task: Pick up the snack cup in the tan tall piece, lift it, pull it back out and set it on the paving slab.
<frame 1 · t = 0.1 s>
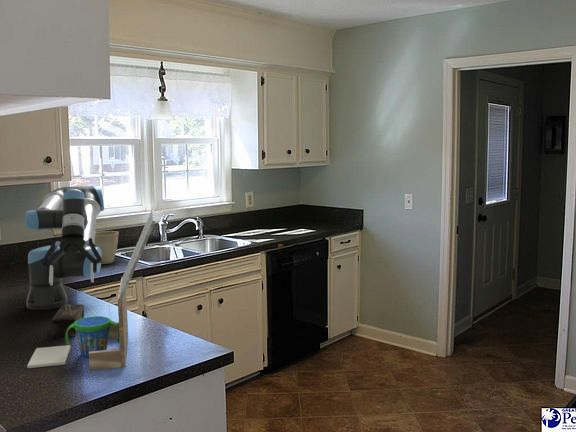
hand: (71, 282, 195), 15 cm above the worktop, tool tilted 35°, fingers open, 13 cm apart
tan tall piece: (95, 353, 171), on the worktop
snack cup: (94, 353, 171), on the worktop
paving slab: (50, 357, 168), on the worktop
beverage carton: (68, 329, 194), on the worktop
plant pot: (105, 262, 300), on the worktop
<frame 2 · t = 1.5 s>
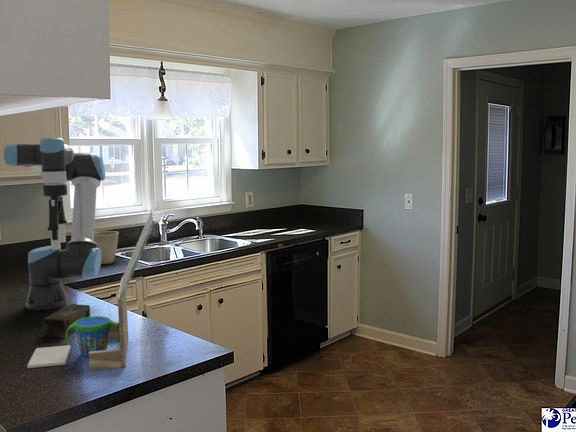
hand: (59, 245, 192), 29 cm above the worktop, tool pointing down, fingers open, 13 cm apart
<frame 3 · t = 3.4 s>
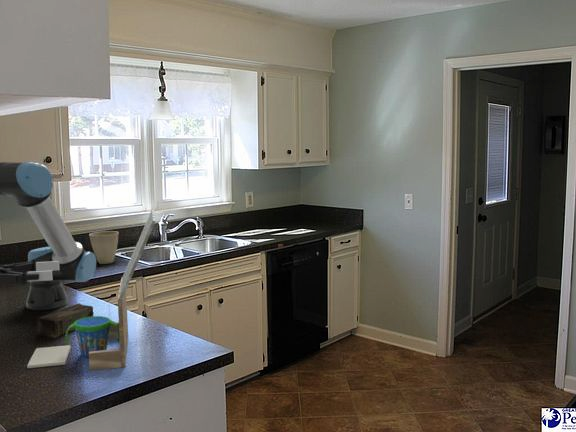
hand: (55, 270, 165), 26 cm above the worktop, tool horizontal, fingers open, 13 cm apart
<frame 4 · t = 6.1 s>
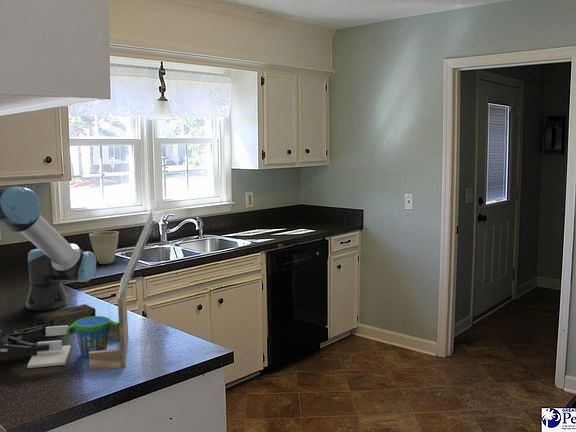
hand: (65, 337, 168), 6 cm above the worktop, tool horizontal, fingers open, 13 cm apart
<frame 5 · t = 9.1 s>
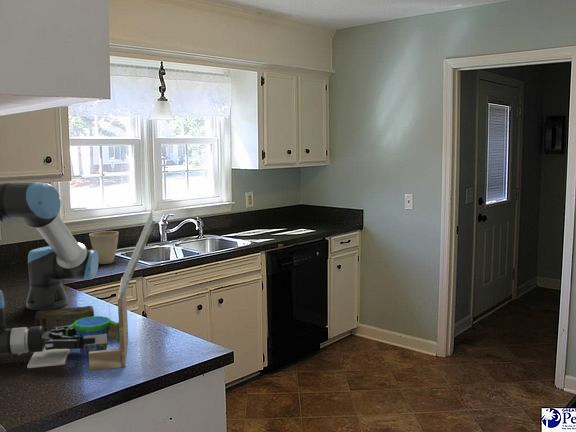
hand: (108, 332, 171), 6 cm above the worktop, tool horizontal, fingers closed on snack cup, 9 cm apart
snack cup: (93, 353, 171), on the worktop, touching gripper
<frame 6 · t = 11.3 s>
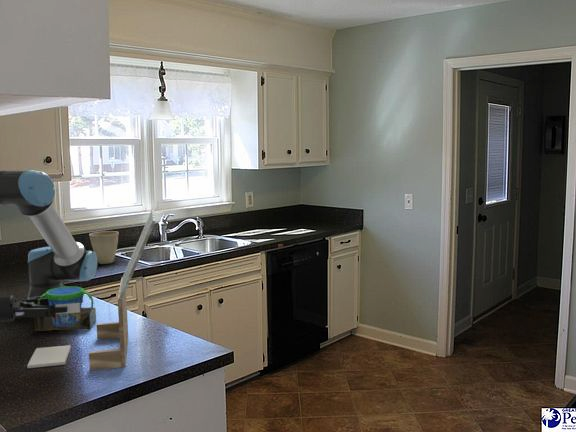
hand: (81, 302, 168), 16 cm above the worktop, tool horizontal, fingers closed on snack cup, 9 cm apart
snack cup: (66, 324, 168), point 10 cm above the worktop, touching gripper
when the fingers open (8 cm above the worktop, at t = 14.0 s): snack cup moves 3 cm, resting on paving slab.
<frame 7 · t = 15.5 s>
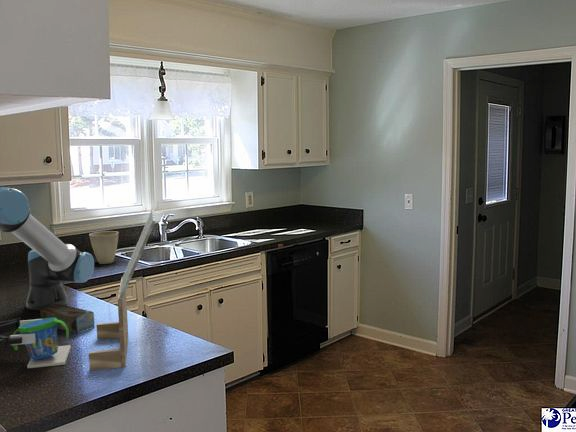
hand: (39, 330, 166), 9 cm above the worktop, tool horizontal, fingers open, 13 cm apart
snack cup: (45, 356, 165), point 1 cm above the worktop, touching paving slab
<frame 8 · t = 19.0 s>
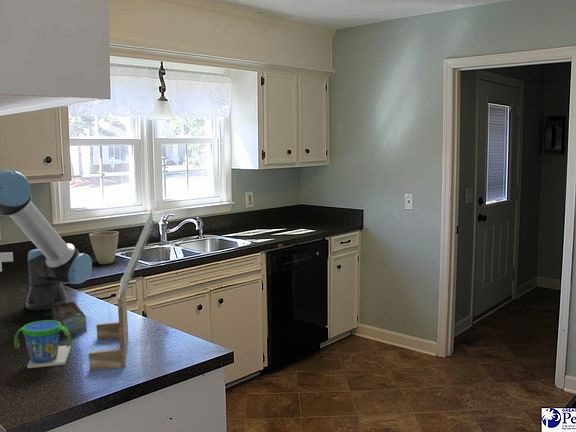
hand: (7, 261, 161), 30 cm above the worktop, tool horizontal, fingers open, 13 cm apart
at the end: snack cup inside the target area on the paving slab (3.0 cm from its centre), point 0.6 cm above the paving slab's base; snack cup tilted 0°; the gripper is holding nothing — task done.
